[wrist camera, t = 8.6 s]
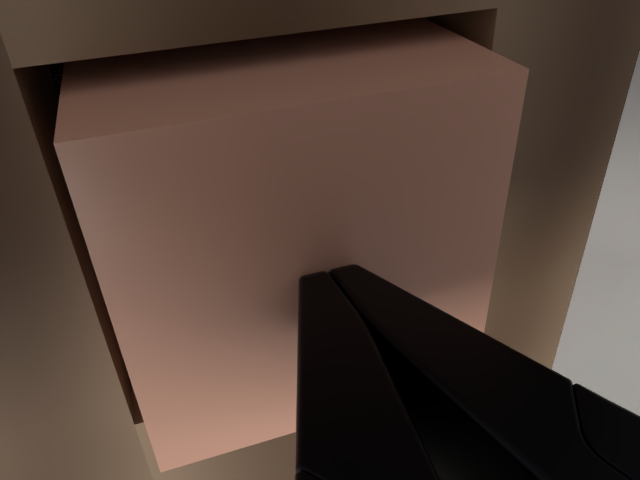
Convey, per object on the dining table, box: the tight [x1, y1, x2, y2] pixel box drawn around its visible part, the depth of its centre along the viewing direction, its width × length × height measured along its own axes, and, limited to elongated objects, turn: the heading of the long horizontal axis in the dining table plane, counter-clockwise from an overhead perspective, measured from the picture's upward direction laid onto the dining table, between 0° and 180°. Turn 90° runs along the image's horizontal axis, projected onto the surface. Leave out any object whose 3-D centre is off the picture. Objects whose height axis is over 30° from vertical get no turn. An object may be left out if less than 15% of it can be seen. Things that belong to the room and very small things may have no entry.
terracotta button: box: [53, 17, 529, 473], centre depth 9 cm, size 6×6×3 cm
